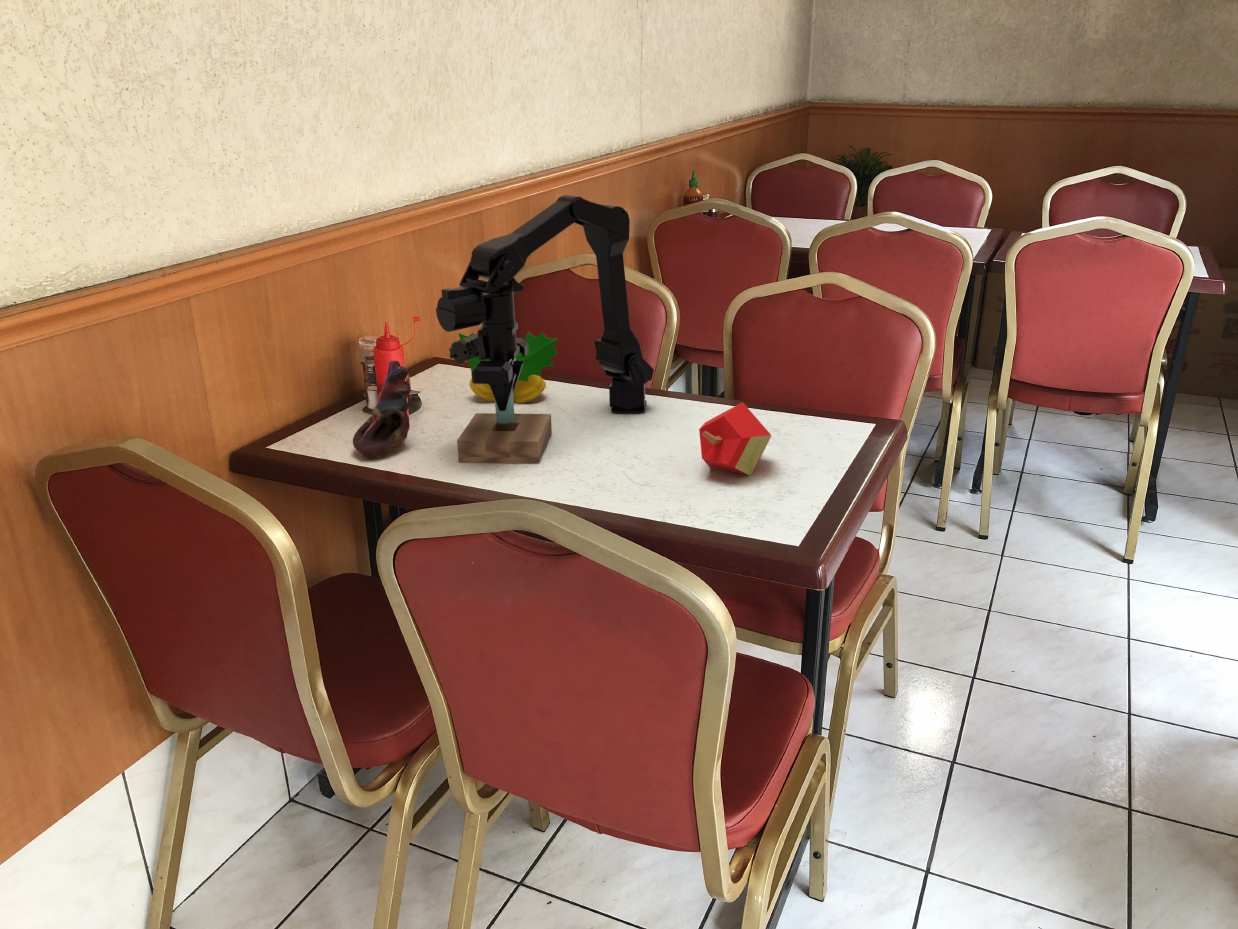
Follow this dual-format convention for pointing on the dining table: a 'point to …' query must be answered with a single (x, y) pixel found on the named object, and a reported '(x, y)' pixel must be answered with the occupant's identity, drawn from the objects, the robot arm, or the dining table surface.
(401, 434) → the anatomical model
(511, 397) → the dowel
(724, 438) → the apple
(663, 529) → the dining table surface
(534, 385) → the ornament
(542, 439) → the hole block
